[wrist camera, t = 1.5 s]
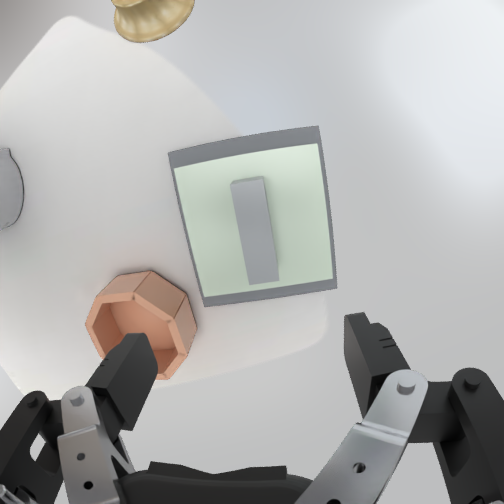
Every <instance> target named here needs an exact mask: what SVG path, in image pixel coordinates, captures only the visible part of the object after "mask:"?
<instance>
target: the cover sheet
mask: <svg viewBox="0 0 504 504" xmlns="http://www.w3.org/2000/svg"><path fill="white" fill-rule="evenodd" d="M174 172H175V177H176V182H177V187H178V191H179V196H180V200H181V205H182V209H183V214H184V218H185V223H186V227H187V231H188V235H189V240H190V244H191V248H192V252H193V256H194V260H195V264H196V268H197V272H198V276H199V279H200V283H201V287H202V291H203V294H204V297H209V296H217V295H224V294H232V293H240V292H247V291H254V290H262V289H269V288H276V287H282V286H289V285H296V284H302V283H309V282H315V281H321V280H327V279H333V273H332V260H331V249H330V238H329V228H328V219H327V210H326V201H325V193H324V186H323V178H322V171H321V164H320V157H319V151H318V145H317V143H316V144H308V145H300V146H293V147H285V148H279V149H272V150H266V151H259V152H253V153H248V154H242V155H236V156H231V157H226V158H221V159H216V160H211V161H206V162H201V163H196V164H192V165H187V166H183V167H179V168H174Z"/></svg>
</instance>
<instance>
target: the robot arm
mask: <svg viewBox="0 0 504 504" xmlns="http://www.w3.org/2000/svg"><path fill="white" fill-rule="evenodd" d="M22 202H23V185H22V179H21V175H20V172H19V169H18V167H17V165H16V163H15V162H14V161H13V159H12V158H11V157H10V153H9V149H0V230H2V229H4V228H6V227H9V226H10V225H12V224H14V222H15V221H16V220H17V218H18V216H19V214H20V211H21V208H22ZM344 355H345V361H346V364H347V368H348V371H349V374H350V378H351V381H352V384H353V387H354V391H355V394H356V397H357V401H358V404H359V407H360V411H361V414H362V418H363V421H362V422H361V423H356V424H355V425H354V426H353V427H352V428H351V430H350V431H349V433H348V434H347V436H346V437H345V439H344V440H343V442H342V443H341V445H340V446H339V447H338V449H337V450H336V452H335V453H334V454H333V456H332V457H331V459H330V460H329V461H328V463H327V464H326V465H325V467H324V468H323V469H322V470H321V472H320V473H319V474H318V476H317V477H316V478H315V479H314V481H313V480H310V479H307V478H304V477H300V476H296V475H289V474H287V468H286V466H272V467H250V468H245V469H240V470H235V471H231V472H225V473H219V474H210V473H206V472H203V471H199V470H196V469H192V468H189V467H186V466H183V465H177V464H167V463H160V462H152V461H151V462H150V465H149V468H148V470H143V471H138V472H136V471H135V469H134V467H133V465H132V462H131V460H130V458H129V455H128V453H127V450H126V448H125V445H124V443H123V440H122V438H121V436H120V435H119V432H120V430H121V429H122V430H129V431H132V430H133V428H134V426H135V423H136V421H137V419H138V417H139V414H140V412H141V410H142V408H143V405H144V403H145V401H146V399H147V397H148V394H149V392H150V390H151V388H152V385H153V383H154V381H155V379H156V377H157V374H158V364H157V360H156V358H155V355H154V353H153V350H152V348H151V345H150V342H149V340H148V337H147V335H146V334H145V333H127V334H126V335H125V337H124V338H123V339H122V341H121V342H120V344H118V345H116V346H115V347H114V348H113V349H111V350H110V351H109V352H108V354H107V355H106V356H105V358H104V360H103V361H102V362H101V363H100V367H99V366H98V368H97V369H96V371H95V372H94V374H93V375H92V376H91V378H90V379H89V381H88V382H87V384H86V385H85V386H78V387H74V388H72V389H70V390H69V391H67V392H66V393H65V394H64V395H63V397H62V399H61V400H53V401H49V399H48V398H47V396H46V395H45V393H44V392H42V391H33V392H30V393H29V394H27V395H26V396H25V397H24V398H23V399H22V400H21V401H20V403H19V404H18V406H17V407H16V408H15V410H14V411H13V413H12V414H11V416H10V417H9V418H8V420H7V421H6V423H5V424H4V426H3V427H2V429H1V430H0V504H54V502H55V499H56V497H57V494H58V492H59V490H60V487H61V485H62V483H63V480H64V483H65V487H66V492H67V497H68V500H69V504H377V502H378V500H379V499H380V497H381V495H382V493H383V491H384V490H385V488H386V486H387V484H388V482H389V481H390V478H391V477H392V475H393V473H394V471H395V469H396V467H397V465H398V463H399V461H400V459H401V457H402V455H403V453H404V451H405V449H406V446H407V444H408V443H429V442H433V445H434V448H435V451H436V454H437V457H438V460H439V464H440V466H441V470H442V473H443V476H444V480H445V483H446V487H447V490H448V494H449V497H450V501H451V504H504V400H503V399H502V397H501V395H500V394H499V392H498V391H497V389H496V387H495V386H494V384H493V383H492V381H491V380H490V378H489V377H488V376H487V374H486V373H484V372H483V371H481V370H479V369H476V368H465V369H461V370H459V371H458V372H457V373H456V374H455V375H454V377H453V379H452V381H449V382H430V381H427V379H426V378H425V377H424V376H423V375H422V374H421V373H419V372H417V371H414V370H411V369H410V367H409V365H408V364H407V362H406V360H405V358H404V357H403V355H402V353H401V351H400V349H399V348H398V346H396V342H395V341H394V339H392V336H391V334H390V332H389V331H388V329H387V328H386V327H384V326H382V325H381V324H380V323H373V324H370V322H369V320H368V318H367V317H366V315H365V313H364V312H362V313H355V314H349V315H345V317H344ZM38 433H39V434H40V435H41V436H42V438H43V439H44V440H45V441H46V443H45V445H44V446H43V448H42V450H41V452H40V454H39V456H38V458H37V459H36V461H34V460H33V459H32V457H31V455H30V447H31V445H32V443H33V442H34V440H35V438H36V436H37V435H38Z"/></svg>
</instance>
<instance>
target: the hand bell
mask: <svg viewBox="0 0 504 504" xmlns="http://www.w3.org/2000/svg"><path fill="white" fill-rule="evenodd" d="M111 1H112V3H113V4H114V5H115V6H116V10H115V15H114V24H115V28H116V30H117V32H118V33H119V34H120V36H122V37H123V38H124V39H126V40H128V41H132V42H150V41H155V40H158V39H160V38H163V37H165V36H167V35H169V34H171V33H172V32H174V31H175V30H176V29H178V28H179V27H180V26H181V25H182V24H183V23H184V22H185V21H186V20H187V18H188V17H189V15H190V13H191V11H192V9H193V6H194V1H195V0H111Z"/></svg>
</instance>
